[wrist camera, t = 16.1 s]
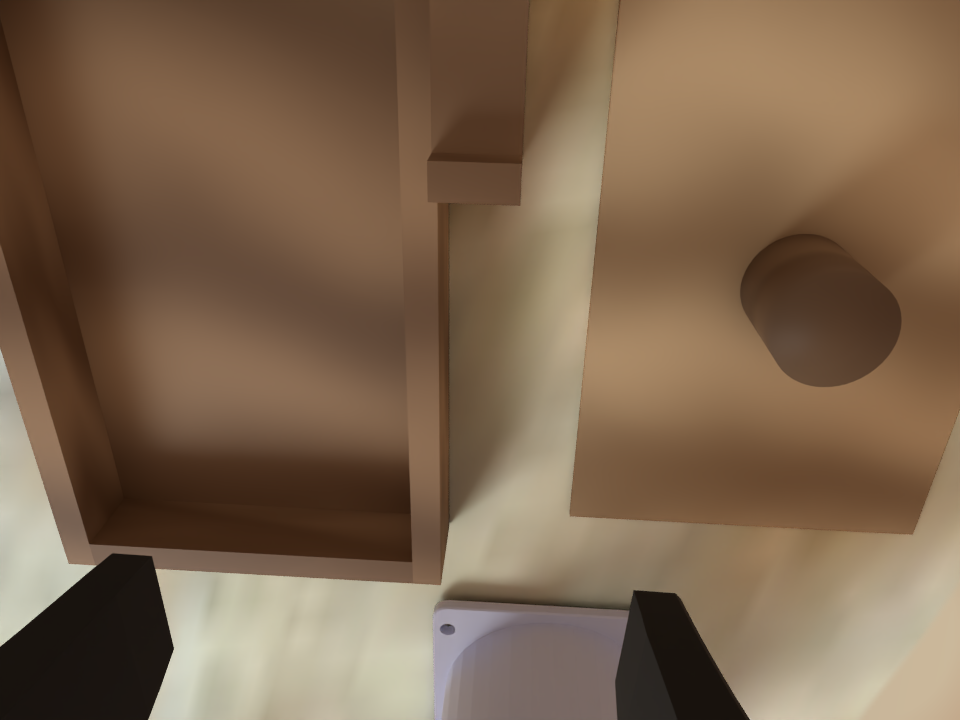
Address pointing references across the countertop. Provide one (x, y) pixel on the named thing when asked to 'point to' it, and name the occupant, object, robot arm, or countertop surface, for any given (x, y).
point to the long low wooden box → (247, 268)
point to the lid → (775, 265)
